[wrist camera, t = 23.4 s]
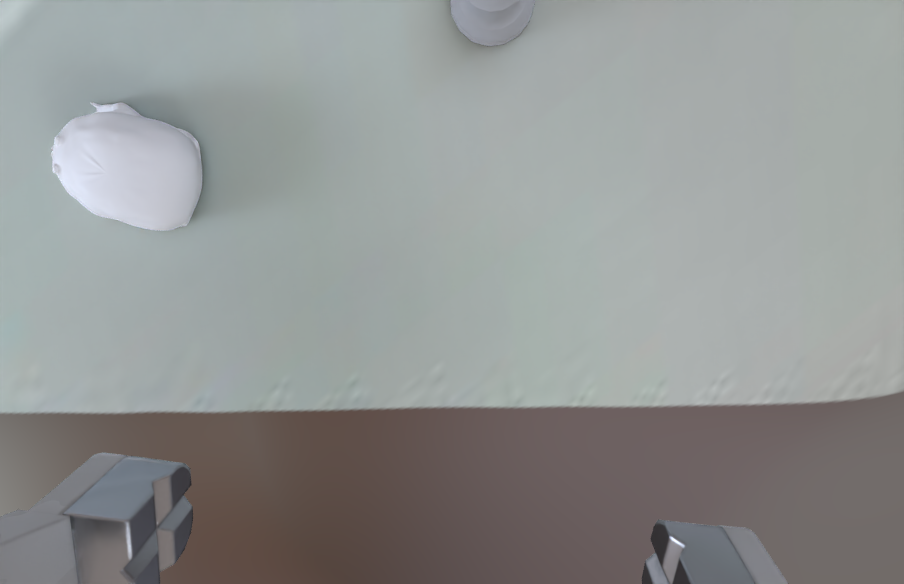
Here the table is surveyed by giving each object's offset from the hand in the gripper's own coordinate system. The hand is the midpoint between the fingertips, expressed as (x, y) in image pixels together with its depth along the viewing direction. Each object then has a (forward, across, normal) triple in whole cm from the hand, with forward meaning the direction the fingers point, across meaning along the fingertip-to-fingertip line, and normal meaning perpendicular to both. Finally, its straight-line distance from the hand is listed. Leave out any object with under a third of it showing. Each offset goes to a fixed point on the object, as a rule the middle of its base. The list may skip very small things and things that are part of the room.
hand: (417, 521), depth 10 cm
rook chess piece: (+25, 0, -13) cm, 28 cm away
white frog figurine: (+25, +19, -2) cm, 32 cm away
